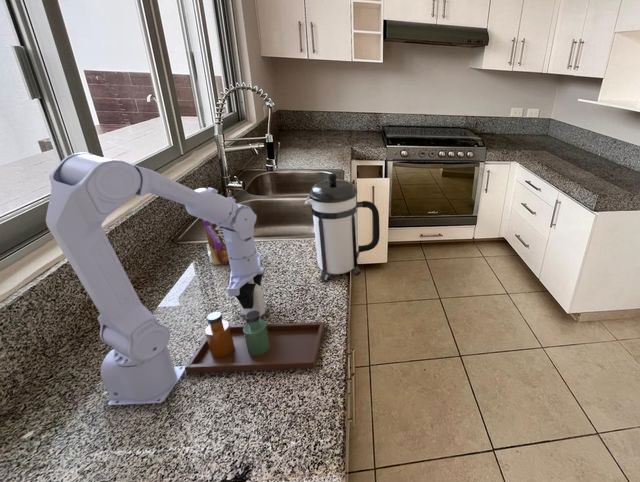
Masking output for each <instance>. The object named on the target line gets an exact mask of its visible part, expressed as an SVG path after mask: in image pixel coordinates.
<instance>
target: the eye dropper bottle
mask: <svg viewBox="0 0 640 482" xmlns="http://www.w3.org/2000/svg"><path fill="white" fill-rule="evenodd" d="M248 283H249V284H256V283H254V280H253V278H252V279H251V280H249V281H248ZM253 297H254V305H253V308H252V309H243V307H242V305H241V304H240V302H239V301H238V304H239V308H240V313H241V314H242V315H244V316H246V314H247V313H249V312H250V311H258V312H259V313H260V317H262V316H263V315H264V314H265V313H266V311H267V310H266V305H265V298H264V293H263V288H262V286H261V287H260V286H259V285H258V284H256V285H255V288H254V295H253Z"/></svg>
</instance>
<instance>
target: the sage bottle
mask: <svg viewBox="0 0 640 482" xmlns="http://www.w3.org/2000/svg"><path fill="white" fill-rule="evenodd" d="M244 316H245V321H246V323H245V324H244V325H245V326H244V327H243V332H244V337H245V342H246V346H247V351H248V354H249V355H251V356H260V355H262V354H264V353H266V352H267V351H268V350H269V348H270V341H269V336H268V330H267V325H266V324H267V322H266V320H265V319H263V318H261V316H260V313H259V312H258V311H250V312H249V313H247V314H246V315H244Z"/></svg>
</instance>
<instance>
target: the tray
mask: <svg viewBox="0 0 640 482" xmlns="http://www.w3.org/2000/svg"><path fill="white" fill-rule="evenodd" d="M229 325H230V329H231V334H232V338H233V342H234V349H233V350H232V352H231V353H229V354H228V355H226V356H224V357H220V358H215V357H213V356H211V353H210V349H209V346H208V342H207V338H206V336H205V337H204V339H203V340H202V341H201V343H200V344H199V346H198V347H197V349H196V350H195V352H194V353H193V354H192V356H191V357H190V359H189V361H188V362H187V363H186V364H185V365H184V366H185V373H186V374H207V373H208V374H209V373H210V374H211V373H232V372H233V373H234V372H256V371H258V372H260V371H281V370H307V369H315V367H316V364H317V359H318V355H319V351H320V349H321V345H322V339H323V336H324V333H325V328H326V326H325V322H324V321H322V322H321V321H320V322H319V321H318V322H290V323H289V322H288V323H287V322H286V323H284V322H283V323H266V325H267V330H268V336H269V341H270V348H269V350H268V351H267V352H266V353H264V354H262V355H260V356H251V355H249V354H248V351H247V346H246V342H245V337H244V332H243V327H244V326H245V325H246V324H229Z"/></svg>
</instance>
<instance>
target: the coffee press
mask: <svg viewBox="0 0 640 482" xmlns="http://www.w3.org/2000/svg"><path fill="white" fill-rule="evenodd" d="M310 189H311V190H310V191H309V193H308V196H307V198H306V199H305V202H304V205H310V208H311V214H312V220H313V230H314V240H315V249H316V250H315V251H316V260H317V266H318V268H319V269H320V270H321V271H322V272H321V275H320V280H321V281H324V282H327V281H328V279H329V277H330V275H341V274H346V273H349V272H352V273H353V275H354V276H357V277H358V276H359V275H360V274H361V273H362V271H361V269H360V268H359V266H358V264H359V261H360V253H363V252H368V251H371V250H373V249H375V248H376V247H377V245H378V243H379V242H380V237H381V236H380V231H381V230H380V212H379V209H378V207H377V205H375V203H374V202H372V201H368V200H363V201H357V196H358V189H357V188H356V187H355V185H354V184H353V183H352V182H351V181H349V180H346V179H341V178H338V176H337V175H336V173H333V172H332V173H330V174H328V177H327V179H324V180H320V181H318V182H316V183H314V184H313V186H312V187H311V188H310ZM358 208H366V209H369V210H371V212H372V233H373V235H372V239H371V241H370V242H369V243H367V244H364V245H359V231H358V229H359V228H358Z"/></svg>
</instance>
